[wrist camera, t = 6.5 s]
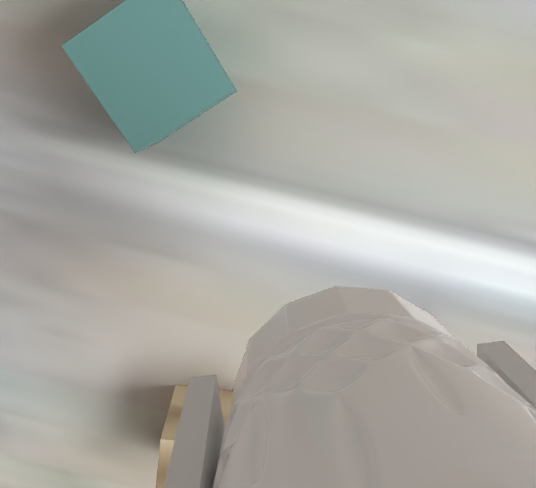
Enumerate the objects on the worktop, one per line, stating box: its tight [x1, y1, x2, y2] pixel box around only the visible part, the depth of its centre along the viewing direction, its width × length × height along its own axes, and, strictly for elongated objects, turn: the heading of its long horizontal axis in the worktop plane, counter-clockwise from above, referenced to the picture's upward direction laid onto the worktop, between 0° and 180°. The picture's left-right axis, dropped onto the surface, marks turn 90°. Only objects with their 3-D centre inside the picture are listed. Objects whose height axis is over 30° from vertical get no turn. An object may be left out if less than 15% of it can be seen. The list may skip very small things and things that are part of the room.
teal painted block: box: [61, 0, 237, 153], centre depth 22 cm, size 5×5×5 cm
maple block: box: [156, 385, 233, 488], centre depth 28 cm, size 5×5×5 cm
